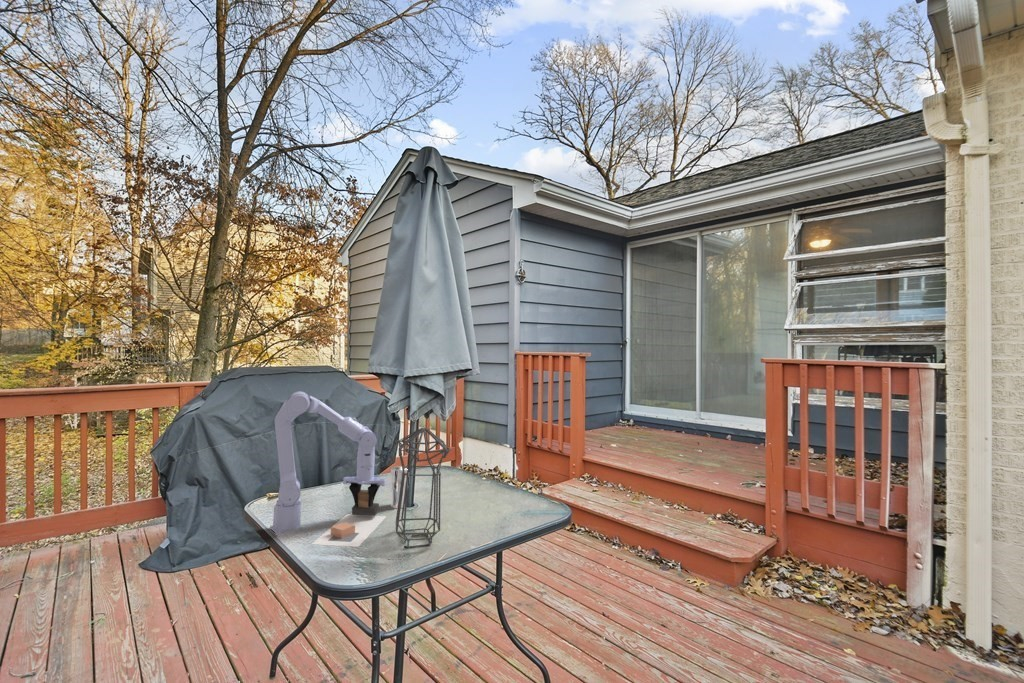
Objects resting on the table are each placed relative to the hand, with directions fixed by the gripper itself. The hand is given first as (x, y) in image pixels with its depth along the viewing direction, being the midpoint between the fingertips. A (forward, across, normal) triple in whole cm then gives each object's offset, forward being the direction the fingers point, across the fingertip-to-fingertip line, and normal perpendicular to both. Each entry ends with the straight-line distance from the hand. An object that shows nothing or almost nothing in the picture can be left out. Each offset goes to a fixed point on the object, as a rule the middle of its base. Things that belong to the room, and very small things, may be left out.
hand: (363, 505), depth 156 cm
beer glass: (+6, +7, +15) cm, 18 cm away
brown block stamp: (+3, 0, +2) cm, 3 cm away
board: (+5, 0, -10) cm, 11 cm away
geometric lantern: (+6, +23, -12) cm, 27 cm away
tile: (+4, -1, -14) cm, 15 cm away
